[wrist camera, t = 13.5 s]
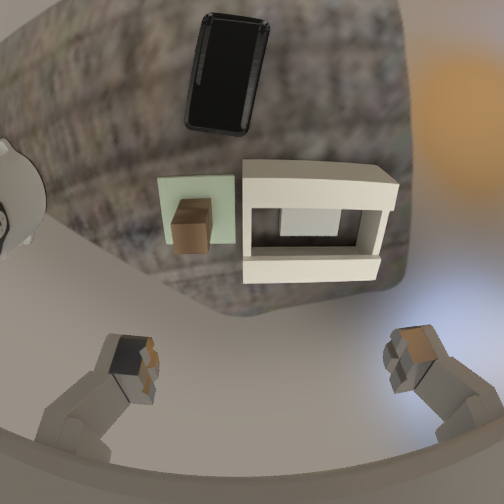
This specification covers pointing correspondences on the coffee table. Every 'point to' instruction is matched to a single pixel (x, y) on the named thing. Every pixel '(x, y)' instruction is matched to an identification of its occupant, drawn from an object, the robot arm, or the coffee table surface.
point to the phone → (225, 73)
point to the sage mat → (201, 187)
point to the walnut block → (192, 226)
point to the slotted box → (315, 218)
